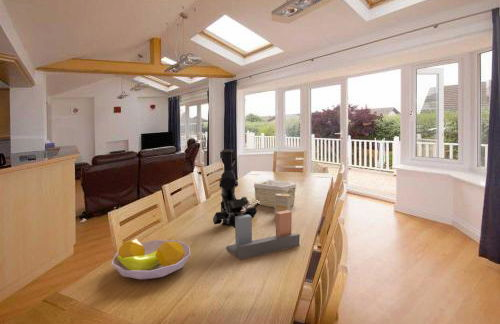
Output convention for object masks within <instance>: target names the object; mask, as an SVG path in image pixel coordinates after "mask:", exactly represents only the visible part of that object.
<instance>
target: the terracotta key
mask: <svg viewBox="0 0 500 324" xmlns="http://www.w3.org/2000/svg"><path fill="white" fill-rule="evenodd" d="M289 234H292V211H291V212H290V211H288V210H286V211H280V212H276V217H275V236H276V237H280V236H284V235H289Z"/></svg>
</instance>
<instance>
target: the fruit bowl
mask: <svg viewBox="0 0 500 324" xmlns="http://www.w3.org/2000/svg"><path fill="white" fill-rule="evenodd" d="M190 248H191V247H190V245H189V244H187V243H184V242H182V241H178V240H176V239H175V240H174V239H170V240H169V239H154V240H148V241H145V242H140V240H138V238H135V239H131V240H125V241H124V242H123V243H122V244H121V246H119V248H118V252H116V253H115V254H114V257H113V259H112V261H111V265H112V266H113V267H114V268H115V269H116V271H117V272H118V273H119V274H120V275H121V276H122V277H125V278H132V279H136V280H149V279H150V280H151V279H157V278H163V277H165V276H167V275H169V274H171V273H173V272H176V271H177V270H179V269H182V268H183V267H184V265H185V264H186V263H187V260H188V259H189V258H190V256H191V253H192V252H191V249H190Z"/></svg>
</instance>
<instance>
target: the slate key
mask: <svg viewBox="0 0 500 324" xmlns="http://www.w3.org/2000/svg"><path fill="white" fill-rule="evenodd" d="M252 220H253V218H252V216H250V215H242V216H236V217H235V228H234V230H235V232H234V233H235V238H234V239H235V244H236V248H237V249H238V245H242V244H247V243H251V242H252V241H253V225H252V224H253V223H252V222H253V221H252Z"/></svg>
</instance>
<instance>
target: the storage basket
mask: <svg viewBox="0 0 500 324" xmlns="http://www.w3.org/2000/svg"><path fill="white" fill-rule="evenodd" d="M253 188H254V197H255V199H254V200H255V201H256V200H258V201H260V205H259V206H264V207H268V208H269V207H270V208H274V209H275V194H278V193H280V194H289V195H291V207H292V206H294V205H295V200H296V199H295V197H296V196H295V195H296V188H297V183H296V182H288V181H279V180H272V179H265V180H260V181H257V182H254V183H253Z"/></svg>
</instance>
